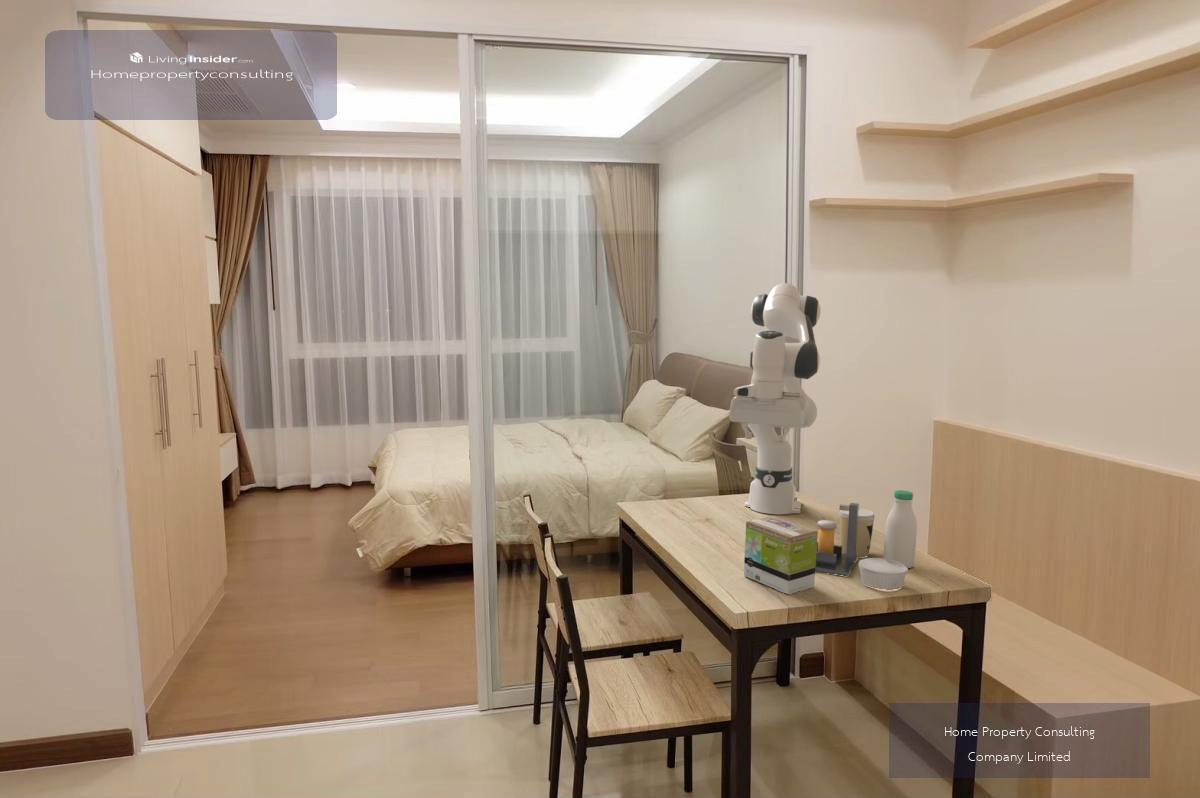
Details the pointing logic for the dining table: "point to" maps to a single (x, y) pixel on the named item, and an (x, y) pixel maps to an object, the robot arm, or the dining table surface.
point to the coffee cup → (863, 531)
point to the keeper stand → (838, 560)
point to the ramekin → (882, 573)
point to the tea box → (780, 554)
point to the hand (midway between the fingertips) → (765, 440)
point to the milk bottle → (901, 530)
